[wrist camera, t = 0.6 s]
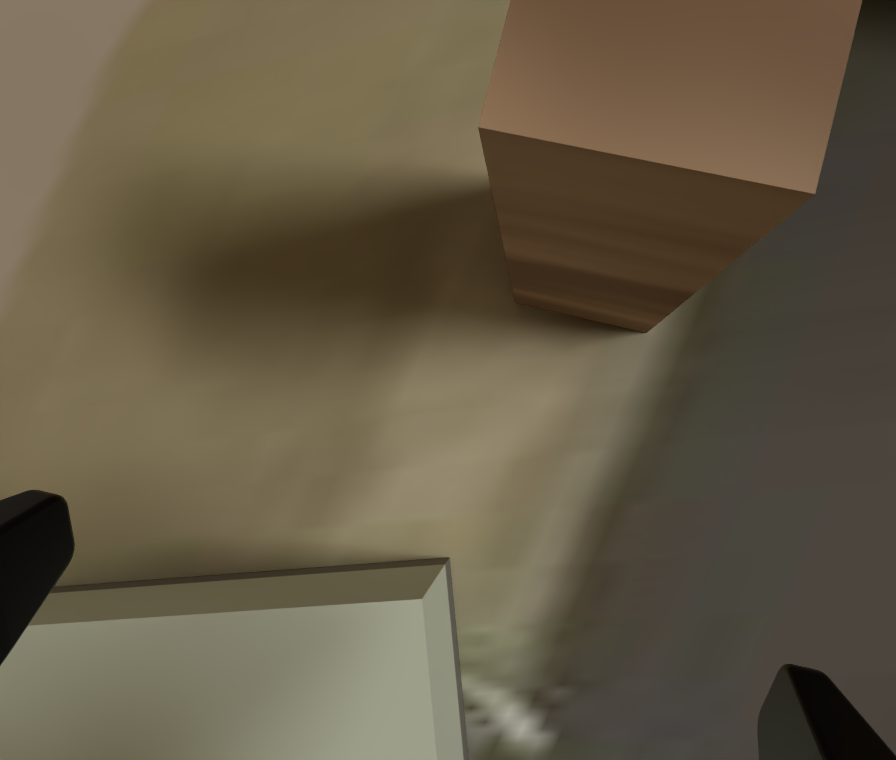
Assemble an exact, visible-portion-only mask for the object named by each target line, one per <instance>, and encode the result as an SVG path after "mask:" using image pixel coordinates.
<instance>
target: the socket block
mask: <svg viewBox="0 0 896 760" xmlns="http://www.w3.org/2000/svg"><path fill="white" fill-rule="evenodd" d="M0 760H469V756H468V746H467V736H466V725H465V715H464V704H463V694H462V683H461V673H460V662H459V652H458V641H457V631H456V620H455V610H454V599H453V589H452V578H451V568H450V558H438V559H425V560H411V561H398V562H385V563H371V564H358V565H344V566H331V567H318V568H304V569H291V570H277V571H264V572H251V573H237V574H224V575H210V576H197V577H184V578H170V579H157V580H143V581H130V582H117V583H103V584H90V585H76V586H63V587H53V589H52V590H51V592H50V593H49V595H48V596H47V598H46V599H45V601H44V602H43V604H42V605H41V607H40V608H39V610H38V611H37V613H36V614H35V616H34V617H33V619H32V620H31V622H30V623H29V625H28V626H27V628H26V629H25V631H24V632H23V634H22V635H21V637H20V638H19V640H18V641H17V643H16V644H15V646H14V647H13V649H12V650H11V652H10V653H9V655H8V656H7V657H6V659H5V660H4V662H3V663H2V664H1V666H0Z"/></svg>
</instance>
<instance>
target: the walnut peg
mask: <svg viewBox="0 0 896 760" xmlns="http://www.w3.org/2000/svg"><path fill="white" fill-rule="evenodd" d="M861 4H862V0H511V1H510V5H509V9H508V13H507V16H506V20H505V24H504V28H503V32H502V36H501V40H500V44H499V48H498V52H497V56H496V59H495V63H494V67H493V71H492V75H491V79H490V83H489V87H488V91H487V95H486V98H485V102H484V106H483V110H482V114H481V118H480V122H479V126H478V129H479V133H480V138H481V143H482V148H483V152H484V157H485V162H486V167H487V171H488V176H489V181H490V185H491V190H492V195H493V200H494V204H495V209H496V214H497V219H498V223H499V228H500V233H501V238H502V242H503V247H504V252H505V256H506V261H507V266H508V271H509V275H510V280H511V285H512V290H513V294H514V299H515V302H516V303H520V304H525V305H529V306H533V307H538V308H542V309H546V310H550V311H555V312H559V313H563V314H568V315H572V316H576V317H581V318H585V319H589V320H593V321H598V322H602V323H606V324H611V325H615V326H619V327H624V328H628V329H632V330H636V331H641V332H645V333H647V332H648V331H649V330H651V329H652V328H653V327H654V326H655V325H657V324H658V323H659V322H660V321H662V320H663V319H664V318H665V317H666V316H668V315H669V314H670V313H671V312H672V311H674V310H675V309H676V308H677V307H679V306H680V305H681V304H682V303H683V302H685V301H686V300H687V299H688V298H689V297H691V296H692V295H693V294H694V293H696V292H697V291H698V290H699V289H700V288H702V287H703V286H704V285H705V284H706V283H708V282H709V281H710V280H711V279H713V278H714V277H715V276H716V275H717V274H719V273H720V272H721V271H722V270H723V269H725V268H726V267H727V266H728V265H730V264H731V263H732V262H733V261H734V260H736V259H737V258H738V257H739V256H740V255H742V254H743V253H744V252H745V251H747V250H748V249H749V248H750V247H751V246H753V245H754V244H755V243H756V242H757V241H759V240H760V239H761V238H762V237H764V236H765V235H766V234H767V233H768V232H770V231H771V230H772V229H773V228H774V227H776V226H777V225H778V224H779V223H781V222H782V221H783V220H784V219H785V218H787V217H788V216H789V215H790V214H791V213H793V212H794V211H795V210H796V209H797V208H799V207H800V206H801V205H802V204H804V203H805V202H806V201H807V200H808V199H810V198H811V197H812V196H813V195H814V194H815V192H816V188H817V184H818V180H819V176H820V172H821V168H822V164H823V159H824V155H825V151H826V147H827V143H828V139H829V135H830V131H831V127H832V123H833V118H834V114H835V110H836V106H837V102H838V98H839V94H840V90H841V86H842V82H843V77H844V73H845V69H846V65H847V61H848V57H849V53H850V49H851V45H852V41H853V37H854V32H855V28H856V24H857V20H858V16H859V12H860V8H861Z"/></svg>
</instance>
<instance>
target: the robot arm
mask: <svg viewBox="0 0 896 760" xmlns="http://www.w3.org/2000/svg"><path fill="white" fill-rule="evenodd" d="M74 546H75V544H74V537H73V531H72V526H71V520H70V515H69V509H68V505H67V502H66V500H65V499H64V498H63V497H62V496H60V495H57V494H53V493H49V492H44V491H40V490H29V491H25V492H23V493H20V494H17V495H14V496H11V497H8V498H6V499H3V500H0V666H1V664H2V663H3V662H4V660H5V659H6V657H7V656H8V655H9V653H10V652H11V650H12V649H13V647H14V646H15V644H16V643H17V641H18V640H19V638H20V637H21V635H22V634H23V632H24V631H25V629H26V628H27V626H28V625H29V623H30V622H31V620H32V619H33V617H34V616H35V614H36V613H37V611H38V610H39V608H40V607H41V605H42V604H43V602H44V601H45V599H46V598H47V596H48V595H49V593H50V592H51V590H52V589H53V587H54V586H55V584H56V583H57V581H58V580H59V578H60V577H61V575H62V574H63V572H64V571H65V569H66V568H67V566H68V565H69V563H70V561H71V559H72V556H73V553H74ZM758 748H759V760H896V755H895V754H894V753H893V752H892V751H891V750H890V748H889V747H888V746H887V745H886V744H885V743H884V741H883V740H882V739H881V738H880V737H879V736H878V734H877V733H876V732H875V731H874V730H873V729H872V727H871V726H870V725H869V724H868V723H867V722H866V720H865V719H864V718H863V717H862V716H861V715H860V713H859V712H858V711H857V710H856V709H855V708H854V706H853V705H852V704H851V703H850V702H849V701H848V699H847V698H846V697H845V696H844V695H843V694H842V692H841V691H840V690H839V689H838V688H837V687H836V685H835V684H834V683H833V682H832V681H831V680H830V678H829V677H828V676H827V675H825V674H824V673H823V672H821V671H818V670H815V669H811V668H806V667H802V666H798V665H793V664H785V665H783V666H782V667H781V668H780V670H779V671H778V673H777V675H776V677H775V679H774V682H773V684H772V686H771V688H770V690H769V693H768V695H767V697H766V699H765V701H764V703H763V706H762V708H761V710H760V714H759V719H758Z"/></svg>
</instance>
